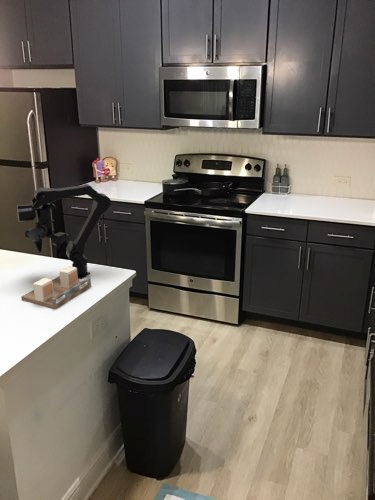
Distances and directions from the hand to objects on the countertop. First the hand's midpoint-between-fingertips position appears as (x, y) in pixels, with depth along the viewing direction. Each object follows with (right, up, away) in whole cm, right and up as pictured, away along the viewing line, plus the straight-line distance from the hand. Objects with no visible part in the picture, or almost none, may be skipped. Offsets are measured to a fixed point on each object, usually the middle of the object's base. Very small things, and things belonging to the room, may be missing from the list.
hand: (48, 254), depth 185 cm
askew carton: (+10, -13, -4) cm, 17 cm away
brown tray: (+6, -16, -8) cm, 19 cm away
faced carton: (+3, -17, -15) cm, 23 cm away
